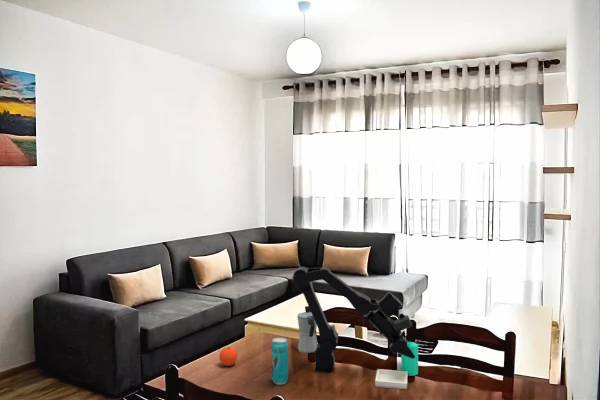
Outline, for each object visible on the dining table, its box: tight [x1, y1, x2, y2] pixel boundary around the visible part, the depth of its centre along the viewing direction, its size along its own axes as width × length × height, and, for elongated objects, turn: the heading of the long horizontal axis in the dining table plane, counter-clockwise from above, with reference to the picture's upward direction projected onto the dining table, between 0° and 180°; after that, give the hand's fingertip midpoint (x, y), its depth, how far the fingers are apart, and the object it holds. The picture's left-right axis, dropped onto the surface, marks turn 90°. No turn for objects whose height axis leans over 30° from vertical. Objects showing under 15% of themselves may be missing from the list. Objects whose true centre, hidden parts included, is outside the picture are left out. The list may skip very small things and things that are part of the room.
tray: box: [374, 368, 409, 390], centre depth 169 cm, size 11×11×2 cm
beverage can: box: [270, 337, 289, 386], centre depth 170 cm, size 6×6×15 cm
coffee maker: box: [297, 305, 318, 354], centre depth 201 cm, size 15×9×18 cm, turn 14°
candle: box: [400, 341, 419, 377], centre depth 177 cm, size 6×6×12 cm
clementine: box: [218, 346, 239, 367], centre depth 186 cm, size 8×7×7 cm
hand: (413, 354), depth 177 cm, fingers closed on candle, 5 cm apart
